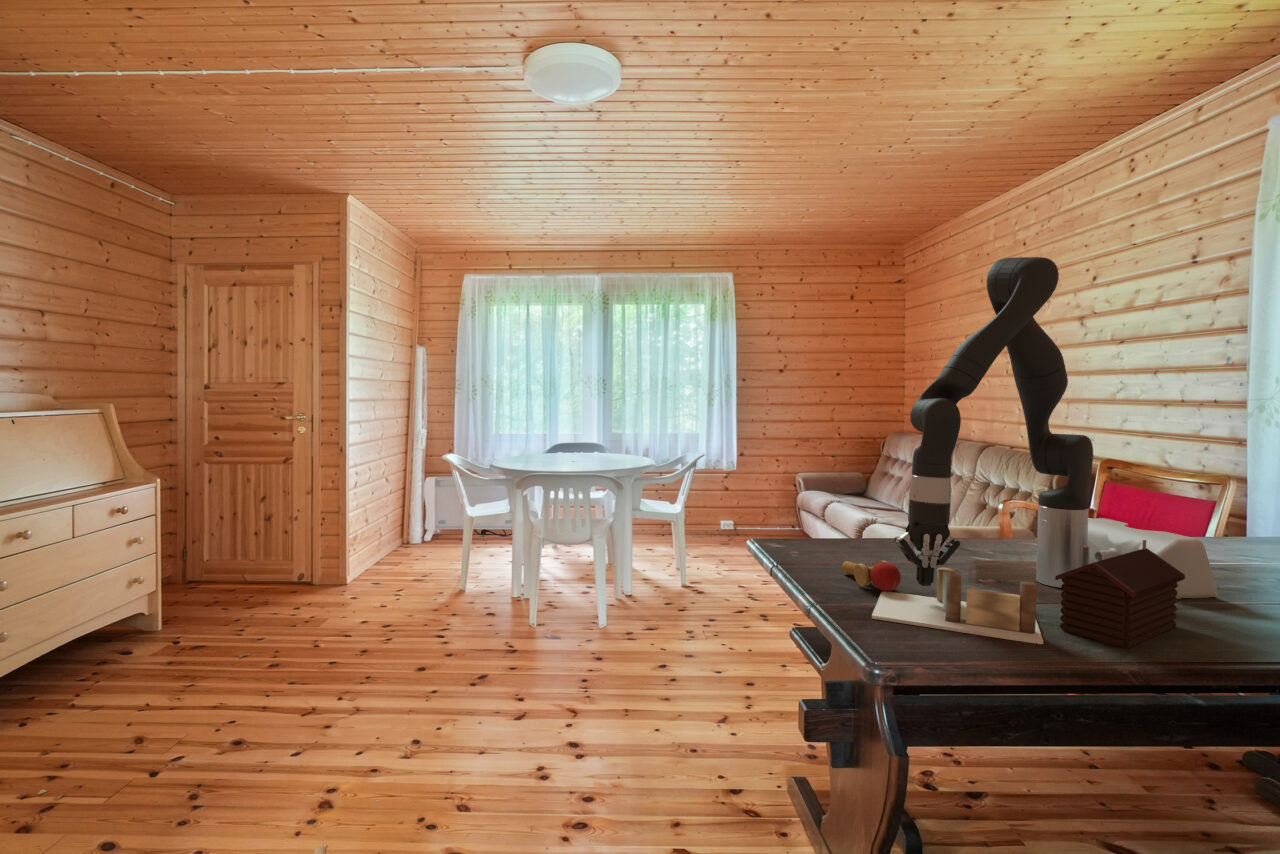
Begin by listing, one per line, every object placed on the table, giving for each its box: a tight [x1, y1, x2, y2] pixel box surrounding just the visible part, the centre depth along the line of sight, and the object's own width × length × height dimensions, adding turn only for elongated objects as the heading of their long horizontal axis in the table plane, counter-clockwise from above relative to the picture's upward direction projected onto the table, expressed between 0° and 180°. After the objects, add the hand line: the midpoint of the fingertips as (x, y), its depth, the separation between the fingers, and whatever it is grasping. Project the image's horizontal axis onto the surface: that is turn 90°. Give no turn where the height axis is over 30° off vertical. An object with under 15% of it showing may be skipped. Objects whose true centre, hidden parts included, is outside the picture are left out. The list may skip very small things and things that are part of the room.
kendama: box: [841, 560, 902, 592], centre depth 137 cm, size 8×6×18 cm
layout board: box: [871, 590, 1044, 645], centre depth 118 cm, size 27×17×1 cm, turn 63°
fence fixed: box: [946, 572, 1038, 634], centre depth 111 cm, size 14×2×9 cm, turn 63°
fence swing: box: [936, 566, 956, 610], centre depth 121 cm, size 11×3×6 cm, turn 160°
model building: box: [1055, 540, 1185, 649], centre depth 111 cm, size 21×12×15 cm, turn 121°
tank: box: [1087, 517, 1219, 600], centre depth 139 cm, size 25×16×12 cm, turn 6°
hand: (924, 585), depth 124 cm, fingers closed
